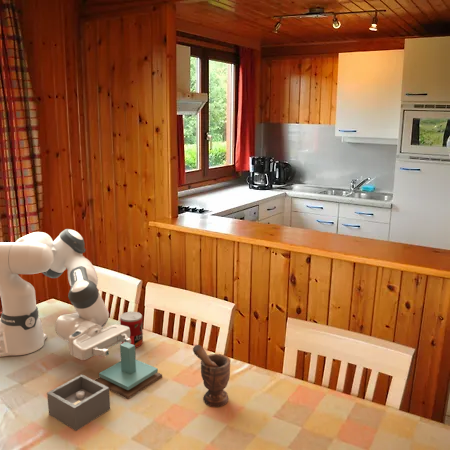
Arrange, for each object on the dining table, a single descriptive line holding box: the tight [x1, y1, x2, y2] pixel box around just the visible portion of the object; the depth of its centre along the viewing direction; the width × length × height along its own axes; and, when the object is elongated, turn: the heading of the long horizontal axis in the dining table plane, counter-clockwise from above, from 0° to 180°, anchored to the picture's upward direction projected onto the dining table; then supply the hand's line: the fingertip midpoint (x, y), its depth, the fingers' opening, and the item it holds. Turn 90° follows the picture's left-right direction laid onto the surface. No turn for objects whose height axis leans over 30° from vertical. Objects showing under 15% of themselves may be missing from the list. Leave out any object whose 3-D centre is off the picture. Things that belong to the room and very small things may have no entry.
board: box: [94, 371, 163, 400], centre depth 155 cm, size 15×15×1 cm
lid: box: [98, 342, 159, 390], centre depth 154 cm, size 13×13×11 cm
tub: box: [46, 373, 111, 432], centre depth 138 cm, size 12×12×7 cm
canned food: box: [119, 311, 144, 348], centre depth 178 cm, size 8×8×11 cm
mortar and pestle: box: [192, 344, 231, 408], centre depth 142 cm, size 12×9×20 cm
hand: (118, 347), depth 155 cm, fingers open, 8 cm apart
